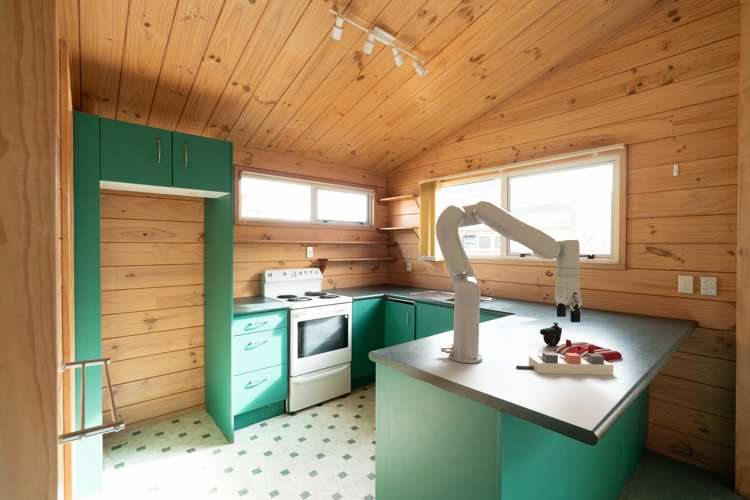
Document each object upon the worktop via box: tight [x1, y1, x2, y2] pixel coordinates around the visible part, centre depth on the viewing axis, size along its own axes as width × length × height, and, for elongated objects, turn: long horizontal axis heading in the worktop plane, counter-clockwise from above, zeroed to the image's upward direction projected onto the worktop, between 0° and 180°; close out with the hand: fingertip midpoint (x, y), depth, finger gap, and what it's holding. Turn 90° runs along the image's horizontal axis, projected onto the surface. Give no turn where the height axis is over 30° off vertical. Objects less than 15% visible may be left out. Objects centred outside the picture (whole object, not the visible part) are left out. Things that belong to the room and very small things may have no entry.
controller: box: [539, 322, 563, 347], centre depth 159 cm, size 4×12×10 cm, turn 122°
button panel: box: [515, 355, 614, 376], centre depth 129 cm, size 32×8×4 cm, turn 89°
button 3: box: [587, 353, 604, 365], centre depth 127 cm, size 4×3×3 cm
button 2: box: [565, 353, 581, 364], centre depth 127 cm, size 4×3×3 cm
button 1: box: [541, 351, 559, 363], centre depth 127 cm, size 4×3×3 cm
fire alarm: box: [552, 338, 623, 362], centre depth 147 cm, size 16×6×20 cm
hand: (568, 319), depth 131 cm, fingers open, 9 cm apart
